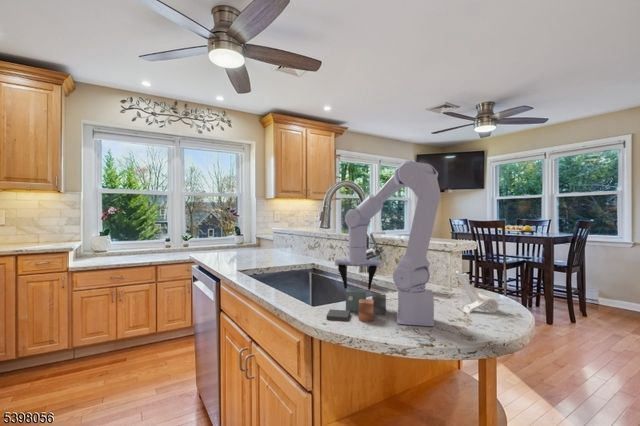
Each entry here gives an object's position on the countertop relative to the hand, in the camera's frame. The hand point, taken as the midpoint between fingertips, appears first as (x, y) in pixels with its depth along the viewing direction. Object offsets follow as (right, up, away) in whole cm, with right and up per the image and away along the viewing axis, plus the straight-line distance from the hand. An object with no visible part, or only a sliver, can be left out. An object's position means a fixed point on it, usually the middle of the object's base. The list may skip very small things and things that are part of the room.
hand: (357, 288), depth 104 cm
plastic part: (+36, -6, -4) cm, 37 cm away
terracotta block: (+1, -6, -13) cm, 14 cm away
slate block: (+6, -6, -7) cm, 11 cm away
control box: (-1, -5, -5) cm, 7 cm away
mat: (-7, -6, -11) cm, 14 cm away
